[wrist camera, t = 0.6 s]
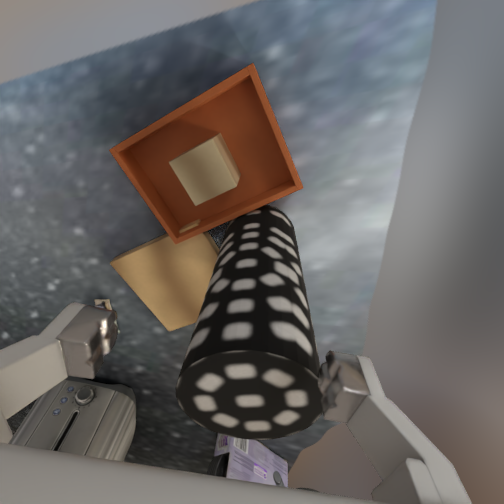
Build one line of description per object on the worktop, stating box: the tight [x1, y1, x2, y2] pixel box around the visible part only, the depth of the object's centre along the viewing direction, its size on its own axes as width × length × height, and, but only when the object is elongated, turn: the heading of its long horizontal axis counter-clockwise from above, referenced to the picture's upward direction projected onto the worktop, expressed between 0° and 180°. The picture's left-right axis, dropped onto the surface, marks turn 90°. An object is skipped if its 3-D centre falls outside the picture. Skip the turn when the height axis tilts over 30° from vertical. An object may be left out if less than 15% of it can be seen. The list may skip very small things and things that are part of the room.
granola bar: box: [94, 299, 120, 333], centre depth 39 cm, size 7×2×1 cm, turn 179°
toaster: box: [8, 376, 136, 462], centre depth 46 cm, size 17×30×19 cm, turn 161°
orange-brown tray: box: [109, 63, 303, 245], centre depth 27 cm, size 15×11×3 cm
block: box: [169, 133, 241, 206], centre depth 26 cm, size 4×4×4 cm
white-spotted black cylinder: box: [176, 205, 324, 440], centre depth 24 cm, size 8×8×20 cm
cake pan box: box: [207, 433, 288, 487], centre depth 50 cm, size 19×5×18 cm, turn 40°
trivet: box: [110, 219, 220, 331], centre depth 35 cm, size 13×13×2 cm
